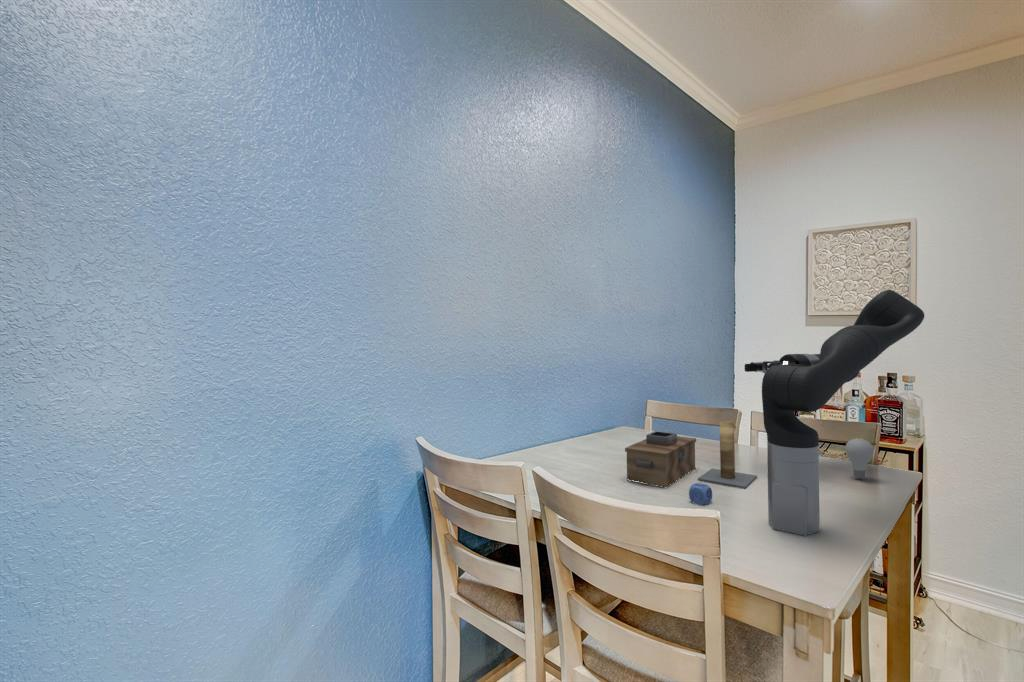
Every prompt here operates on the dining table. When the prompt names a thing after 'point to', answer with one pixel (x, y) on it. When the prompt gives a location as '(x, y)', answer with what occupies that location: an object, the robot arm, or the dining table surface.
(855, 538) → the dining table surface
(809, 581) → the dining table surface
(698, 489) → the decorative dice
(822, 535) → the dining table surface
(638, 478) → the toolbox
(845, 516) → the dining table surface
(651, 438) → the dark grey square tray
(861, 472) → the lightbulb
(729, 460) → the pin
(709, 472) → the mat
